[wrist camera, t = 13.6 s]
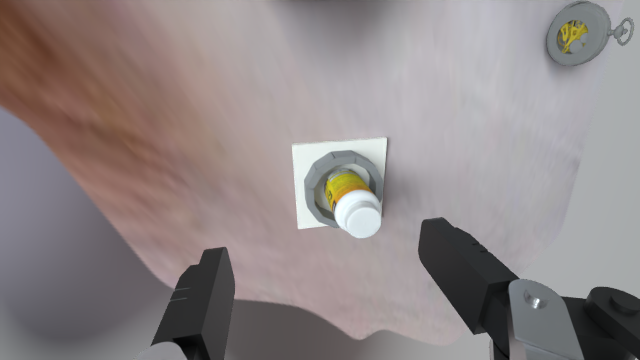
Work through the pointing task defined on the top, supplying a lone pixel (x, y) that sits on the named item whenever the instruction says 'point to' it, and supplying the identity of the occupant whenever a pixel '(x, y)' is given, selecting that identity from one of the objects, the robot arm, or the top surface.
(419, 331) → the top surface
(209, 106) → the top surface
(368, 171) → the ring holder
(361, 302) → the top surface
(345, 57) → the top surface
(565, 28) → the pocket watch
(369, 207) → the supplement bottle
